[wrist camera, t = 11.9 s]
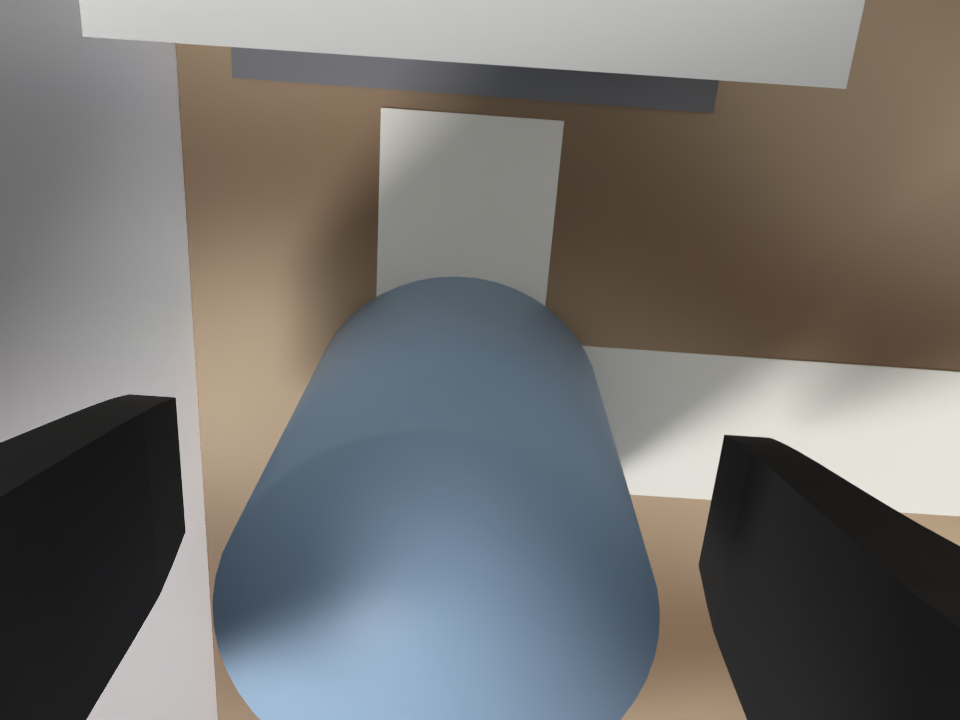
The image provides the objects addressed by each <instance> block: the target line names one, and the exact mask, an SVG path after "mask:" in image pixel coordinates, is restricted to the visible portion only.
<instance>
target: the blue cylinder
mask: <svg viewBox="0 0 960 720" xmlns="http://www.w3.org/2000/svg"><path fill="white" fill-rule="evenodd" d="M212 602H213V625H214V630H215V635H216V640H217V645H218V649H219V652H220V654H221V657H222V660H223V662H224V665H225V668H226V671H227V672H228V674H229V676H230V678H231V680H232V682H233V683H234V685H235V687H236V689H237V691H238V692H239V694H240V695H241V697H242V698H243V699H244V701H245V702H246V703H247V705H248V706H249V707H250V709H251V710H252V712H253V713H254V714H255V715H256V716H257V717H258V718H259V719H260V720H621V719H622V717H623V716H624V715H625V713H626V712H627V711H628V709H629V708H630V707H631V705H632V704H633V703H634V701H635V700H636V698H637V696H638V694H639V693H640V691H641V689H642V687H643V685H644V684H645V682H646V680H647V677H648V674H649V672H650V669H651V666H652V664H653V661H654V658H655V653H656V648H657V643H658V638H659V626H660V607H659V599H658V591H657V585H656V582H655V578H654V575H653V571H652V568H651V565H650V561H649V558H648V554H647V551H646V548H645V544H644V541H643V537H642V534H641V531H640V527H639V524H638V520H637V517H636V514H635V510H634V507H633V503H632V500H631V497H630V493H629V490H628V486H627V483H626V480H625V476H624V473H623V469H622V466H621V463H620V459H619V456H618V452H617V449H616V446H615V442H614V439H613V435H612V432H611V428H610V425H609V422H608V418H607V415H606V411H605V408H604V405H603V401H602V398H601V394H600V391H599V388H598V384H597V381H596V377H595V374H594V371H593V367H592V365H591V363H590V361H589V358H588V356H587V354H586V352H585V350H584V349H583V347H582V345H581V344H580V342H579V341H578V339H577V338H576V336H575V335H574V334H573V332H572V331H571V330H570V329H569V328H568V326H567V325H566V324H565V323H564V322H563V321H562V320H561V319H560V318H559V317H558V316H557V315H555V314H554V313H553V312H552V311H551V310H550V309H549V308H547V307H546V306H544V305H543V304H541V303H540V302H538V301H537V300H535V299H534V298H532V297H530V296H528V295H526V294H524V293H522V292H520V291H518V290H516V289H514V288H511V287H508V286H505V285H502V284H500V283H497V282H492V281H487V280H483V279H478V278H468V277H436V278H430V279H425V280H419V281H415V282H412V283H408V284H405V285H402V286H398V287H396V288H394V289H392V290H390V291H387V292H385V293H383V294H381V295H379V296H378V297H376V298H374V299H373V300H371V301H370V302H368V303H366V304H365V305H364V306H362V307H361V308H360V309H359V310H358V311H356V312H355V313H354V314H353V315H352V316H350V317H349V319H348V320H347V321H346V322H345V323H344V324H343V325H342V326H341V327H340V329H339V330H338V331H337V332H336V334H335V335H334V337H333V338H332V340H331V341H330V343H329V344H328V346H327V348H326V350H325V352H324V354H323V356H322V358H321V359H320V361H319V363H318V365H317V367H316V369H315V371H314V373H313V375H312V377H311V379H310V381H309V383H308V385H307V387H306V389H305V391H304V393H303V395H302V397H301V399H300V401H299V403H298V404H297V406H296V408H295V410H294V412H293V414H292V416H291V418H290V420H289V422H288V424H287V426H286V428H285V430H284V432H283V434H282V436H281V438H280V440H279V442H278V444H277V446H276V448H275V450H274V451H273V453H272V455H271V457H270V459H269V461H268V463H267V465H266V467H265V469H264V471H263V473H262V475H261V477H260V479H259V481H258V483H257V485H256V487H255V489H254V491H253V493H252V495H251V496H250V498H249V500H248V502H247V504H246V506H245V508H244V510H243V512H242V514H241V516H240V518H239V520H238V522H237V524H236V526H235V528H234V530H233V532H232V534H231V536H230V538H229V540H228V542H227V544H226V546H225V549H224V551H223V553H222V556H221V559H220V563H219V566H218V570H217V573H216V576H215V584H214V592H213V601H212Z"/></svg>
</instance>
